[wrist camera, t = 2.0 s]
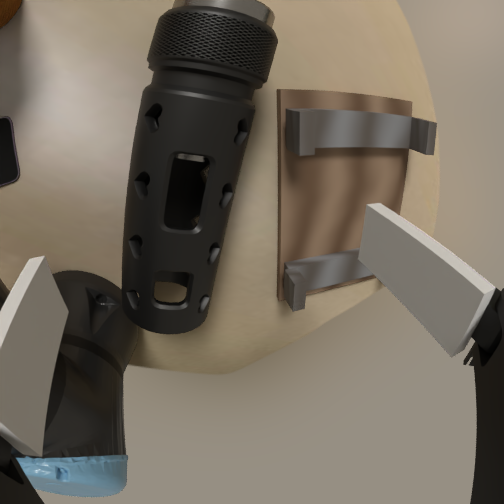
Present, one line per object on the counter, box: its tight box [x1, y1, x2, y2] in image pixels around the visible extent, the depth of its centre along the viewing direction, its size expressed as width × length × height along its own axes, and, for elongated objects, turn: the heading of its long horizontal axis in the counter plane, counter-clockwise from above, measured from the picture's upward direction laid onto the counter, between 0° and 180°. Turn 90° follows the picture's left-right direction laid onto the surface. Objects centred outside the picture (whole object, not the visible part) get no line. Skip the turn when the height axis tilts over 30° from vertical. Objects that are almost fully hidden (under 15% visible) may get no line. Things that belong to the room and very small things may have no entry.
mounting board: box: [277, 89, 437, 311], centre depth 33 cm, size 18×26×6 cm
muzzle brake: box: [122, 0, 278, 334], centre depth 24 cm, size 10×28×10 cm, turn 166°
